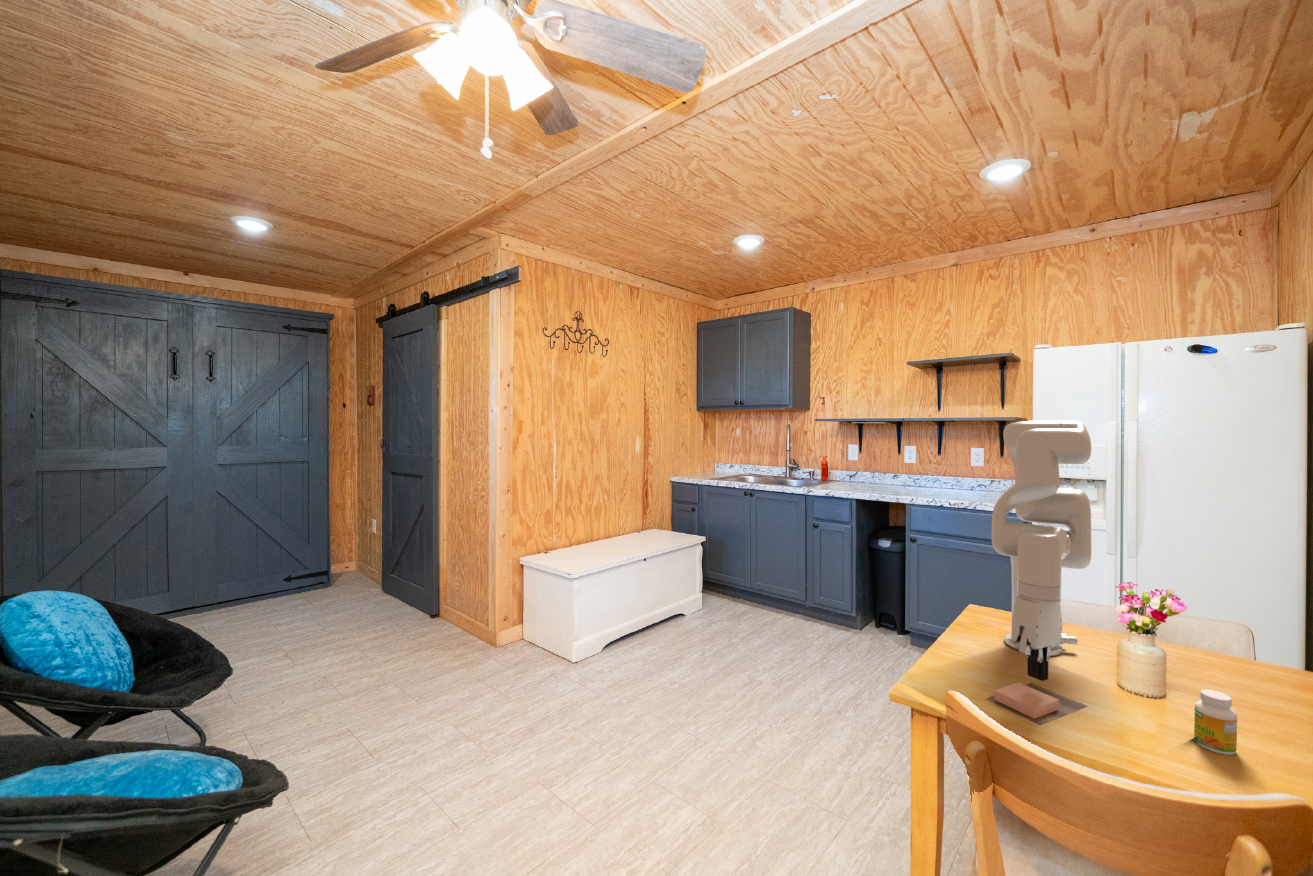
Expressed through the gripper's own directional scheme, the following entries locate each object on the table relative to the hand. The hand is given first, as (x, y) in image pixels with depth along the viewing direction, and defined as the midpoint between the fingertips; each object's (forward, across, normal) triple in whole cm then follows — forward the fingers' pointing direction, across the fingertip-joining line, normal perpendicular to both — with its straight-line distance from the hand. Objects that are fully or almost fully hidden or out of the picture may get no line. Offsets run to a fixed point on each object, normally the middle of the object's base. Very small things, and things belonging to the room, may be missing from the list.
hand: (1037, 677), depth 112 cm
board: (+6, +1, 0) cm, 6 cm away
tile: (+4, 0, 0) cm, 4 cm away
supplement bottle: (+7, -15, +22) cm, 27 cm away
